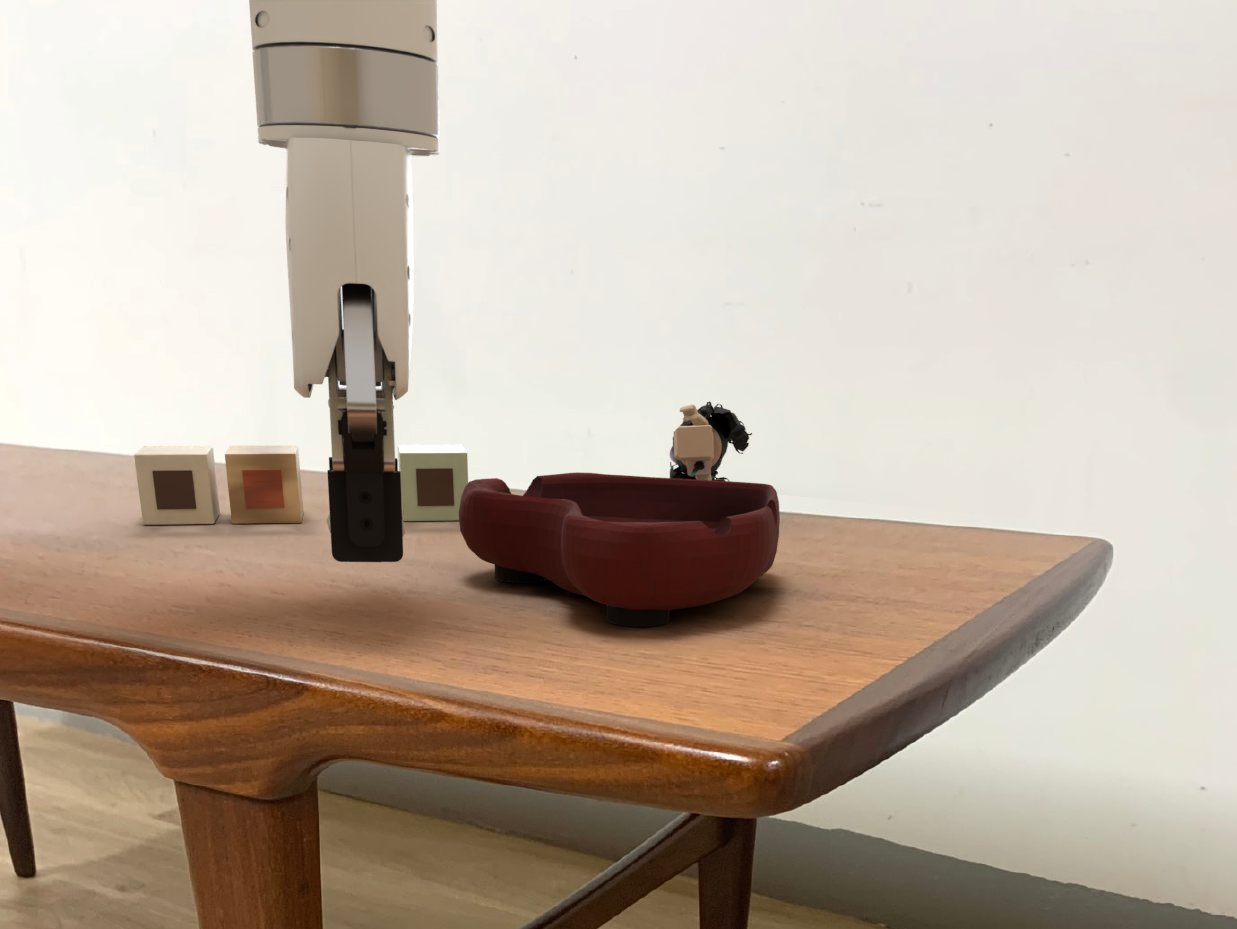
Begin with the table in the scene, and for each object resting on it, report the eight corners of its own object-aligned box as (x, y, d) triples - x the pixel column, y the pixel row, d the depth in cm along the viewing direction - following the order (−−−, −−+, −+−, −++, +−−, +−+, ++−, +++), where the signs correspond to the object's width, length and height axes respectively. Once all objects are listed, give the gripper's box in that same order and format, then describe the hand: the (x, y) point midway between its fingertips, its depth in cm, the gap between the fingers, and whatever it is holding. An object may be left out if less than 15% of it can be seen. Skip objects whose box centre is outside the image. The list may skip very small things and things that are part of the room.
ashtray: (879, 603, 69) (888, 504, 67) (615, 644, 60) (616, 532, 58) (677, 546, 82) (679, 462, 80) (437, 573, 73) (432, 480, 71)
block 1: (142, 525, 85) (133, 454, 84) (152, 514, 89) (143, 446, 88) (214, 524, 86) (206, 454, 85) (220, 513, 90) (213, 445, 89)
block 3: (403, 521, 89) (399, 452, 87) (401, 510, 93) (397, 445, 91) (469, 520, 89) (467, 452, 88) (464, 510, 93) (462, 444, 92)
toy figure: (664, 522, 91) (672, 491, 105) (756, 517, 91) (752, 487, 104) (658, 412, 88) (667, 395, 102) (753, 406, 88) (749, 390, 102)
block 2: (231, 524, 87) (224, 454, 85) (237, 513, 91) (230, 445, 89) (301, 523, 87) (295, 453, 86) (303, 512, 91) (297, 445, 90)
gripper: (266, 122, 62) (292, 520, 70) (241, 80, 48) (277, 590, 55) (428, 132, 64) (437, 521, 71) (452, 95, 49) (459, 590, 57)
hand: (367, 547), depth 63 cm, fingers closed on game die, 3 cm apart
